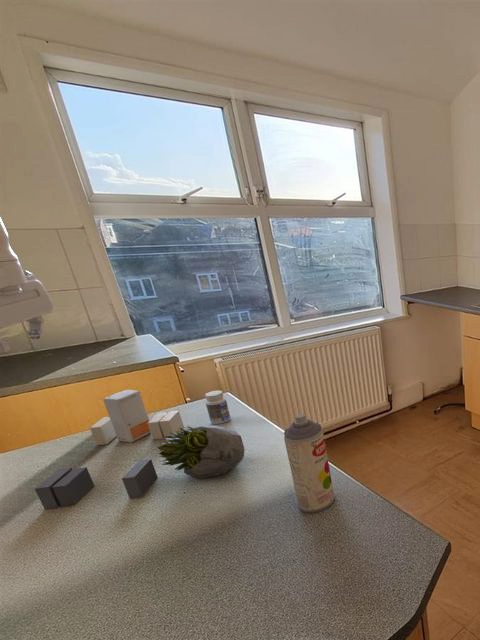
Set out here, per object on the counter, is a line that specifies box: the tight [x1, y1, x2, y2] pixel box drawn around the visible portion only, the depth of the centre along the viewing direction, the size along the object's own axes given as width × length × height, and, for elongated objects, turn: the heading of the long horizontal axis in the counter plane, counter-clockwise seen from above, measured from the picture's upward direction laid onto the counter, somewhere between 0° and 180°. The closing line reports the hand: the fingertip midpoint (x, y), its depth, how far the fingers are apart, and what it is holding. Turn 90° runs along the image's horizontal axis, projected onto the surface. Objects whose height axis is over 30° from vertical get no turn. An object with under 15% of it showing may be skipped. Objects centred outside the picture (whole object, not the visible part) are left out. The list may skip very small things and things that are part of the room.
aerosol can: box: [283, 413, 336, 514], centre depth 85 cm, size 7×7×20 cm
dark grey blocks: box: [34, 458, 159, 510], centre depth 89 cm, size 16×7×5 cm, turn 105°
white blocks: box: [89, 410, 185, 446], centre depth 111 cm, size 17×6×5 cm, turn 105°
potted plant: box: [156, 424, 245, 479], centre depth 95 cm, size 12×13×15 cm
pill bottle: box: [204, 390, 231, 425], centre depth 119 cm, size 5×5×8 cm
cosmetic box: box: [102, 389, 151, 443], centre depth 110 cm, size 6×4×12 cm
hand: (21, 344), depth 88 cm, fingers open, 8 cm apart
